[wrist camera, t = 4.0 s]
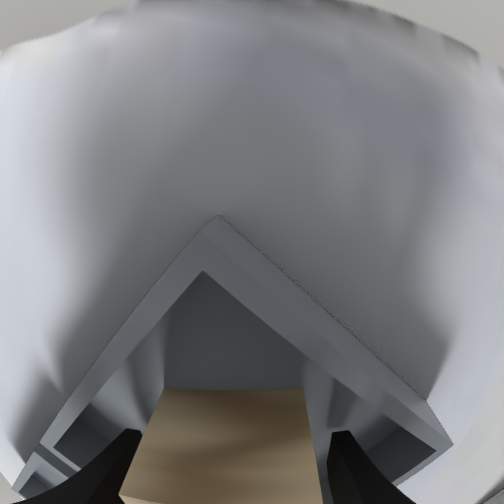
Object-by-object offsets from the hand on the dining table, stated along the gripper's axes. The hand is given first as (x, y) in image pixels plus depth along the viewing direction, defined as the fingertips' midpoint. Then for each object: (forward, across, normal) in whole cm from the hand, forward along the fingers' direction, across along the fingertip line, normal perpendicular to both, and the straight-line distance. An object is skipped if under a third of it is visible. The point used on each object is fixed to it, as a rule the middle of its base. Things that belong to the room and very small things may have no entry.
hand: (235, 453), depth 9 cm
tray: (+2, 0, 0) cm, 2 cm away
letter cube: (+1, 0, 0) cm, 1 cm away
